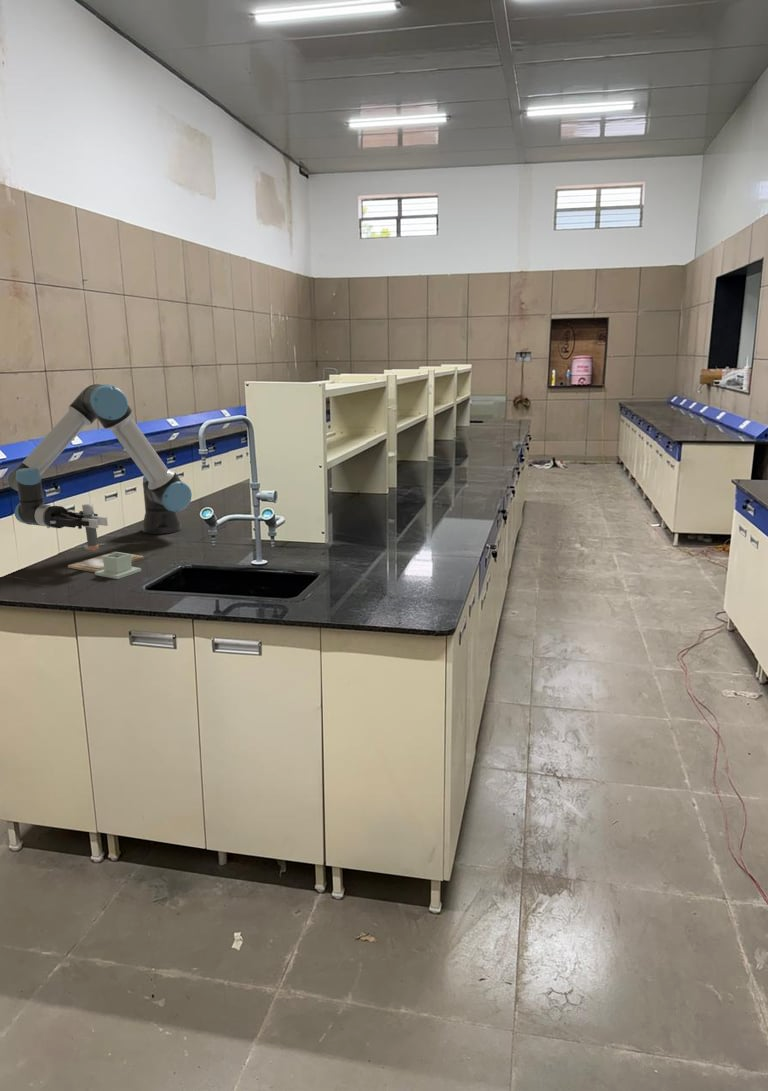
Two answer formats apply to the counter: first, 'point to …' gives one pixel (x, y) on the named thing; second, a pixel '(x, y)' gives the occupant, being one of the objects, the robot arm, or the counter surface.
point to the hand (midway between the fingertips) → (101, 522)
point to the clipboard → (97, 563)
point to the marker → (90, 532)
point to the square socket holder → (117, 566)
